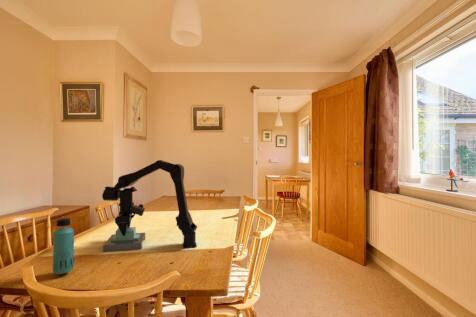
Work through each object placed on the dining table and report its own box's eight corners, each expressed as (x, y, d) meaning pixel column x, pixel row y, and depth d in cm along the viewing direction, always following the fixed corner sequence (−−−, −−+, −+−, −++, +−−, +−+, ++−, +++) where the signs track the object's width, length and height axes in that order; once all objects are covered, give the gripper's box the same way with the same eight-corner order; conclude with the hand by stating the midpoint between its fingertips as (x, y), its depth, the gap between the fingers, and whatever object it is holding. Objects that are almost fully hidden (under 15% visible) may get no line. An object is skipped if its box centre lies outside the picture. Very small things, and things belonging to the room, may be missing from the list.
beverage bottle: (57, 280, 86) (57, 222, 86) (48, 275, 90) (49, 219, 90) (77, 272, 92) (78, 218, 92) (68, 268, 95) (69, 216, 95)
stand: (141, 249, 116) (141, 242, 116) (103, 252, 112) (103, 245, 112) (145, 238, 131) (145, 232, 131) (112, 240, 128) (112, 234, 128)
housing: (110, 241, 117) (110, 231, 117) (113, 237, 123) (114, 227, 123) (138, 239, 120) (138, 229, 120) (139, 235, 126) (140, 226, 126)
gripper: (141, 203, 115) (141, 237, 115) (145, 197, 133) (145, 226, 133) (114, 204, 112) (114, 239, 112) (123, 197, 130) (123, 227, 130)
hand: (125, 232), depth 122 cm, fingers open, 9 cm apart
